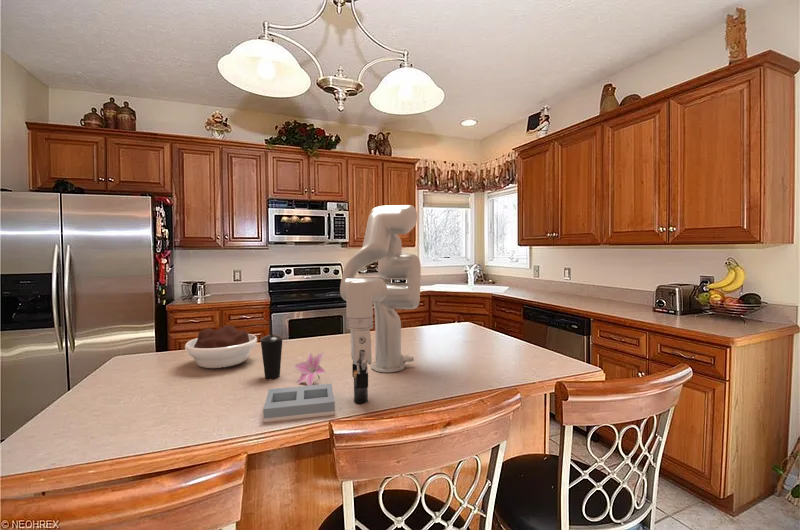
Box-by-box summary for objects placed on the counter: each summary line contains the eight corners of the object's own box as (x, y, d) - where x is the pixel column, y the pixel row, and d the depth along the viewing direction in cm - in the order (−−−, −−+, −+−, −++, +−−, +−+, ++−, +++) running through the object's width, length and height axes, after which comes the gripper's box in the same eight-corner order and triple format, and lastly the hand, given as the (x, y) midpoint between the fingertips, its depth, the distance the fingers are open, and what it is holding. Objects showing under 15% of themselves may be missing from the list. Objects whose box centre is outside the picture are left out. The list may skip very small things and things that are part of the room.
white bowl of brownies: (240, 375, 132) (239, 333, 131) (170, 375, 132) (169, 333, 132) (267, 355, 157) (266, 319, 156) (208, 355, 157) (207, 319, 156)
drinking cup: (276, 381, 125) (275, 322, 124) (256, 380, 127) (254, 321, 126) (288, 374, 133) (286, 318, 132) (268, 372, 134) (267, 317, 133)
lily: (294, 380, 129) (285, 360, 124) (324, 362, 134) (317, 343, 129) (307, 402, 120) (297, 381, 115) (339, 382, 125) (331, 361, 120)
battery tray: (331, 394, 114) (331, 383, 114) (334, 414, 100) (334, 401, 100) (269, 400, 110) (269, 389, 109) (263, 422, 96) (263, 409, 96)
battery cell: (366, 397, 111) (366, 366, 111) (369, 403, 107) (368, 370, 107) (353, 399, 110) (352, 367, 110) (354, 404, 106) (354, 371, 106)
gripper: (378, 327, 100) (378, 391, 100) (368, 317, 117) (368, 372, 117) (349, 329, 98) (350, 393, 99) (343, 318, 115) (344, 374, 115)
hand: (360, 382), depth 108 cm, fingers open, 9 cm apart
